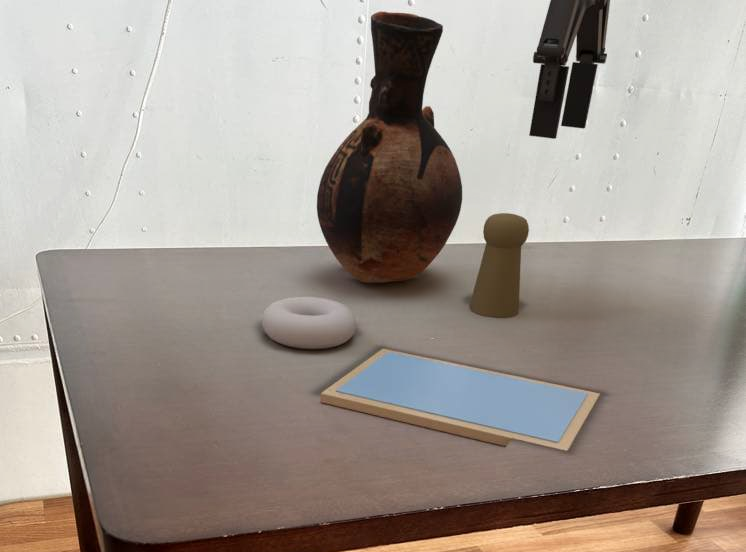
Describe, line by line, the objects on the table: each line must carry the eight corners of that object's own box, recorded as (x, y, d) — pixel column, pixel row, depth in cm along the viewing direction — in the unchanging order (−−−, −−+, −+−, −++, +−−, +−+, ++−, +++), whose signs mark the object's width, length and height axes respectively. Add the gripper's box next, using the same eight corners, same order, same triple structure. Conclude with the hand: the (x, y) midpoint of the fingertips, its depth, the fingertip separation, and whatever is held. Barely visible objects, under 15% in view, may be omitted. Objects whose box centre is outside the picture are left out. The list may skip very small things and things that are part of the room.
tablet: (598, 402, 76) (600, 392, 75) (565, 461, 65) (567, 449, 65) (382, 356, 84) (382, 347, 83) (320, 402, 73) (320, 391, 72)
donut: (370, 335, 90) (290, 317, 93) (372, 303, 88) (291, 286, 91) (328, 362, 82) (243, 341, 85) (331, 328, 80) (243, 308, 83)
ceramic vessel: (372, 254, 120) (388, 13, 104) (478, 276, 112) (513, 19, 96) (284, 281, 106) (287, 5, 89) (399, 310, 98) (425, 12, 81)
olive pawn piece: (460, 309, 99) (472, 214, 93) (482, 299, 103) (495, 207, 97) (505, 320, 96) (521, 222, 90) (526, 309, 100) (543, 215, 94)
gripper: (592, -95, 90) (553, 120, 102) (530, -133, 71) (491, 137, 83) (662, -94, 87) (614, 126, 99) (617, -133, 68) (564, 146, 80)
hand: (558, 132), depth 91 cm, fingers open, 13 cm apart
